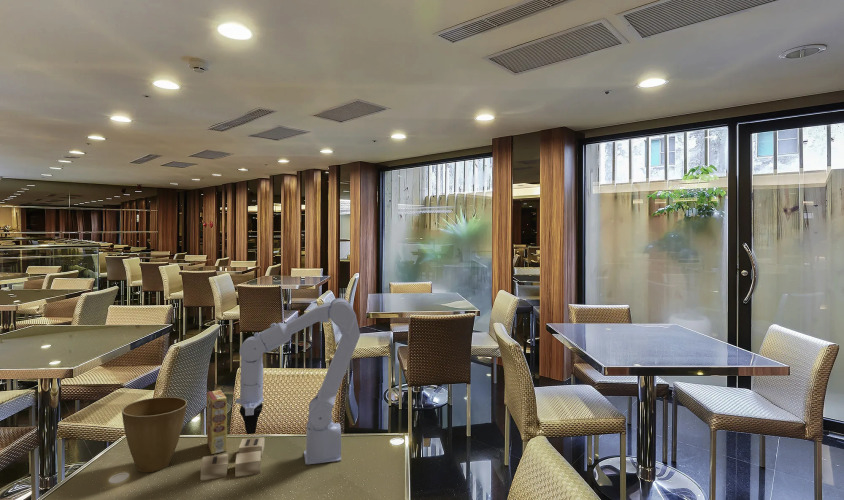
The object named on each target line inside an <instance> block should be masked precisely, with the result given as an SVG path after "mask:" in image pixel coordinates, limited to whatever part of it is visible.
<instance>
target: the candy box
mask: <svg viewBox="0 0 844 500" xmlns="http://www.w3.org/2000/svg"><path fill="white" fill-rule="evenodd" d="M227 399H228V398H227V396H226V395H225V393H224V392H223V391H222V390H221V389H218V390H212V391H211V390H210V391H207V393H206V403H207V404H206V425H207V426H206V428H207V431H206V432H207V433H206V434H207V435H206V438H207V440H206V441H207V442H206V444H207V446H208V449H209V451H210V453H211V455H216V454H219V453H224V452H227V449H228V448H227V447H228V443H227V442H228V441H227V439H228V438H227V437H228V436H227V434H228V427H227V424H228V413H227V412H228V401H227Z"/></svg>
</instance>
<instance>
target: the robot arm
mask: <svg viewBox="0 0 844 500" xmlns="http://www.w3.org/2000/svg"><path fill="white" fill-rule="evenodd" d="M329 320H330V321H332V323H333V324H335V326H337V328H338V330H339V332H340V334H341V337H340V339H339V341H338V344H337V346H336V349H335V351H334V354H333V357H332V359H331V362H330V364H329V366H328V368H327V371H326V373H325V376H324V379H323V381H322V383H321V386H320V388H319V389H318V390H317V393H316V395H315V397H313V399H311V400H310V402H309V404H308V417H307V423H306V434H305V435H306V437H305V438H306V441H305V442H306V443H305V444H306V447H305V448H306V449H305V450H304V451H303V457H304V462H305V463H304V464H305V465H316V464H324V463H331V462H332V463H333V462H340V461H342V428H341V424H340V423H339V422H336V423H335V422H334V420H333V408H334V406H335V402H336V397H337V395H338V391H339V390H340V386H341V384H342V383H343V379H344V377H345V375H346V372H347V369H348V367H349V364H350V361H351V359H352V357H353V354H354V352H355V350H356V347H357V344H358V342H359V339H360V336H361V332H360V328H359V323H358V319H357V314H356V312H355V310H354V308H353V306H352V305H351V304H350V302H349V301H348V300H347V299H346V298H343V297H338V298H334V299H332V300H331V301H328V302H325V303H323V304H321V305H318V306H316V307H314V308H313V309H311V310H309V311H307V312H305V313H304V314H302V315H300V316H298V317H296V318H295V319H293V320H292V321H290V322H288V323H282V322H278V323H276V322H272V323H271V324H270V325H269V326H270V327H268V328H267V329H264V330H263V331H260V332H258V331H257V332H255V333H254V334H253V336H249V337H247V338H246V339H245V340H244V341H243V343H242V344H241V345H240V347H239V355H240V357H241V360H240V382H239V383H240V386H239V388H240V391H239V392H240V393H239V396H240V397H239V398H235V404H239V405H240V407H239V414H240V416H241V417H242V419H243V423H244V428H245V433H246V435H254V434H255V435H256V431H257V426H258V421H259V417H260V415H261V413H262V410H263V407H264V406H263V405H264V404H263V402H264V364H263V359H264V357H263V355H264V354H263V353H270V352H271V351H272V352H273V351H274V350H275V349H277V348H279V347H281V346H283V345H285V344H286V343H288V342H290V340H291V337H292V335H293V334H296V333H297V332H300V331H302V330H303V329H306V328H308V327H310V326H312V325H314V324H316V323H318V322H319V323H330V321H329Z"/></svg>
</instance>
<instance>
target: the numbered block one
mask: <svg viewBox="0 0 844 500" xmlns="http://www.w3.org/2000/svg"><path fill="white" fill-rule="evenodd" d="M228 469H229V453H224V454H223V453H222V454H217V455H216V454H213V455H207V456H202V460H201V464H200V481H205V480H211V479H219V478H220V479H221V478H227V477H228Z"/></svg>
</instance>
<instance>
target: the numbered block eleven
mask: <svg viewBox="0 0 844 500" xmlns="http://www.w3.org/2000/svg"><path fill="white" fill-rule="evenodd" d="M265 441H266V440H265V436H264V437H262V436H261V437H249V438H242V439H241V442H240V444H239V446H238V454H239V453H248V452H256V451H261V459H262V458H263V455H264V451H265Z"/></svg>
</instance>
